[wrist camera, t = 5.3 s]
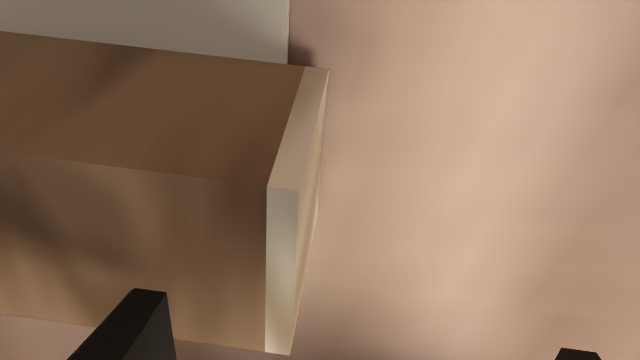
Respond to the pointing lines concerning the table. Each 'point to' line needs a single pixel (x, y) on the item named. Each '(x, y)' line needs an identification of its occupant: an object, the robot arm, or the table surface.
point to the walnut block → (158, 186)
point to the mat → (161, 24)
